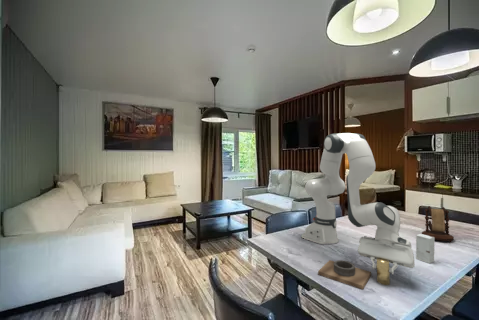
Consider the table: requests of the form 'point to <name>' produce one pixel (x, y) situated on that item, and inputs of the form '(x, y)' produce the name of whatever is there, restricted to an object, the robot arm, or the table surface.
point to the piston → (383, 271)
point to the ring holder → (345, 273)
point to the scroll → (437, 224)
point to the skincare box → (425, 248)
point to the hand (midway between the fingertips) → (382, 270)
